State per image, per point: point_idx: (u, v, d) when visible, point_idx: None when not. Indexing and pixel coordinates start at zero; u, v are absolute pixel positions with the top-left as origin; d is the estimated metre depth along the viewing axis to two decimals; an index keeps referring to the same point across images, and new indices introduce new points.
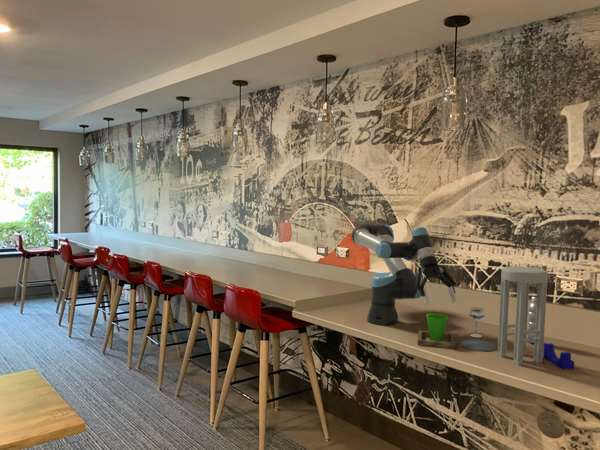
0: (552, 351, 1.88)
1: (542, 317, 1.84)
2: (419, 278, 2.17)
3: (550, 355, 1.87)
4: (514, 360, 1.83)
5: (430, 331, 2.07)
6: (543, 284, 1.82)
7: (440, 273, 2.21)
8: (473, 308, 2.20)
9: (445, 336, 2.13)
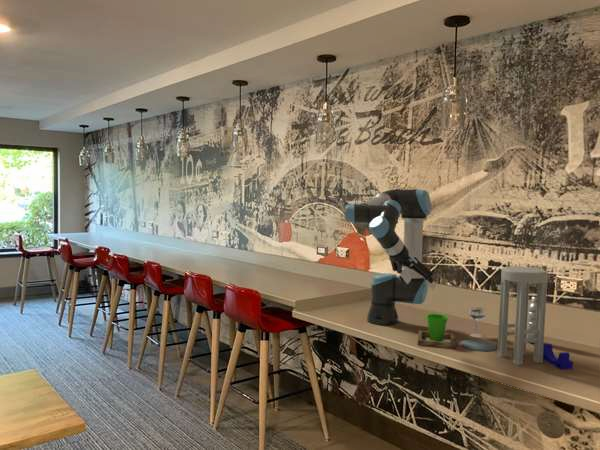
0: (550, 351, 1.88)
1: (542, 317, 1.84)
2: (392, 265, 2.02)
3: (548, 355, 1.87)
4: (514, 360, 1.83)
5: (430, 331, 2.07)
6: (543, 284, 1.82)
7: (409, 267, 1.92)
8: (473, 308, 2.20)
9: (445, 336, 2.13)
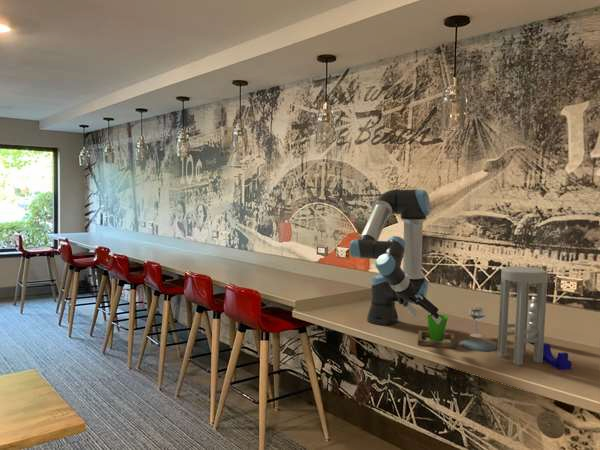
0: (549, 351, 1.88)
1: (542, 317, 1.84)
2: (398, 299, 2.05)
3: (547, 355, 1.86)
4: (514, 360, 1.83)
5: (430, 331, 2.07)
6: (543, 284, 1.82)
7: (415, 303, 1.95)
8: (473, 308, 2.20)
9: (445, 336, 2.13)
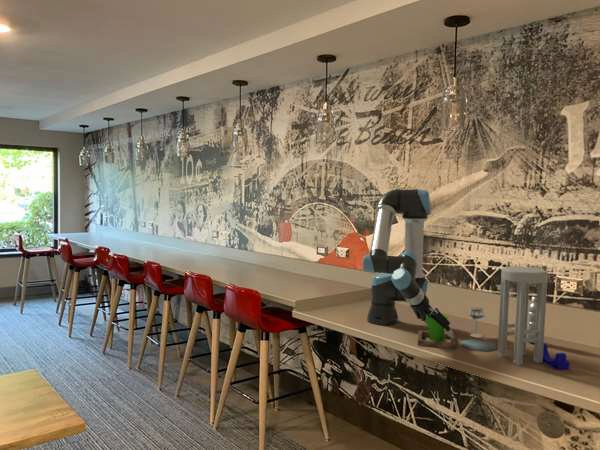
0: (546, 352, 1.87)
1: (542, 317, 1.84)
2: (415, 313, 2.10)
3: (544, 356, 1.86)
4: (514, 360, 1.83)
5: (430, 331, 2.07)
6: (543, 284, 1.82)
7: (429, 316, 2.01)
8: (473, 308, 2.20)
9: (445, 336, 2.13)
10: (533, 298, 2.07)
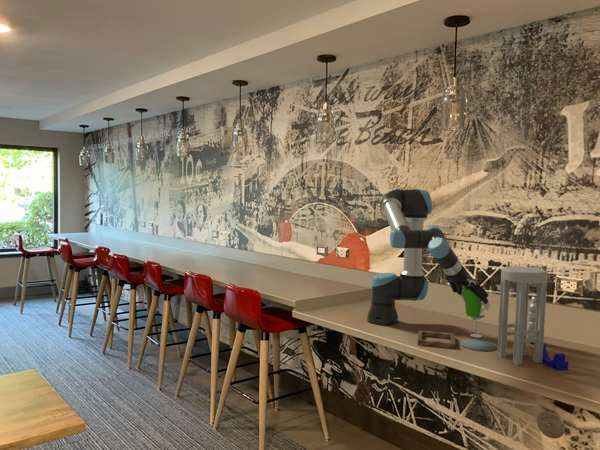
0: (544, 352, 1.87)
1: (542, 317, 1.84)
2: (451, 286, 2.04)
3: (543, 356, 1.86)
4: (514, 360, 1.83)
5: (467, 304, 2.01)
6: (543, 284, 1.82)
7: (466, 287, 1.95)
8: None
9: (445, 336, 2.13)
10: (533, 298, 2.07)
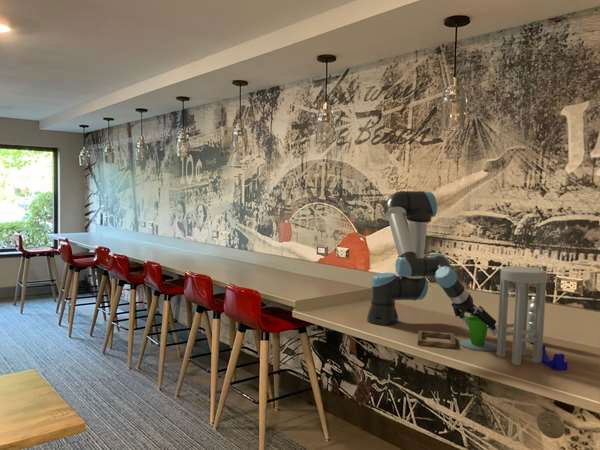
0: (544, 352, 1.86)
1: (541, 317, 1.84)
2: (455, 311, 2.06)
3: (542, 356, 1.85)
4: (512, 360, 1.84)
5: (472, 334, 2.02)
6: (542, 284, 1.82)
7: (473, 314, 1.96)
8: None
9: (445, 336, 2.13)
10: (533, 298, 2.07)
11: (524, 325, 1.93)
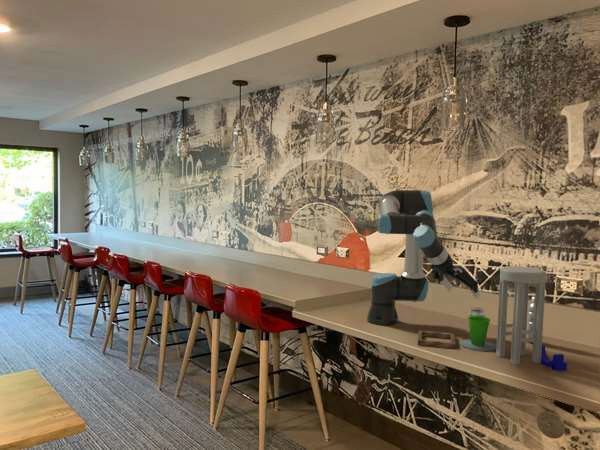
0: (544, 353, 1.86)
1: (540, 317, 1.83)
2: (434, 274, 1.97)
3: (542, 357, 1.85)
4: (511, 360, 1.84)
5: (472, 334, 2.02)
6: (541, 284, 1.82)
7: (453, 276, 1.87)
8: (473, 308, 2.20)
9: (445, 336, 2.13)
10: (533, 298, 2.07)
11: (524, 325, 1.93)
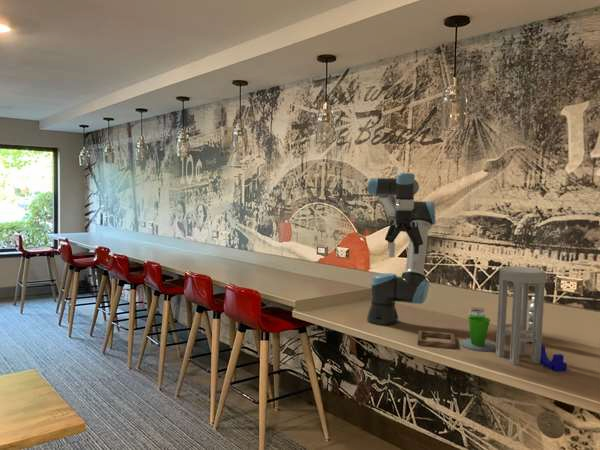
0: (543, 353, 1.86)
1: (540, 317, 1.83)
2: (388, 231, 2.14)
3: (542, 357, 1.84)
4: (510, 360, 1.84)
5: (472, 334, 2.02)
6: (540, 284, 1.82)
7: (406, 229, 2.04)
8: (473, 308, 2.20)
9: (445, 336, 2.13)
10: (533, 298, 2.07)
11: (524, 325, 1.92)
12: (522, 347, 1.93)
